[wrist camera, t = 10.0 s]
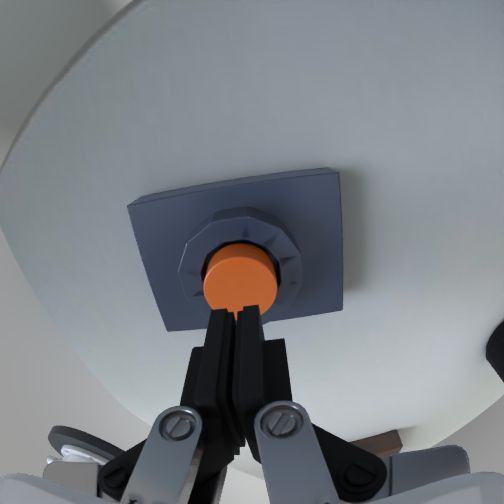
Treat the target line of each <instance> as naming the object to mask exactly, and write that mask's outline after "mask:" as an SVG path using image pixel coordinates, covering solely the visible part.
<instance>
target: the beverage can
mask: <svg viewBox="0 0 504 504" xmlns="http://www.w3.org/2000/svg"><path fill="white" fill-rule="evenodd" d="M486 359H487V360H488V362H489V363H490V364H491V366H492V367H493V368H494V370H495V371H496V372H497V374H498V375H499V377H500V378H501V379H502V381H503V382H504V322H502V323H501V324H500V325H499V326H498V327H497V329H496V330H495V331H494V332H493V334H492V335H491V337H490V339H489V341H488V343H487V346H486Z"/></svg>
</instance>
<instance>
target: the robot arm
mask: <svg viewBox="0 0 504 504" xmlns="http://www.w3.org/2000/svg"><path fill="white" fill-rule="evenodd" d="M245 438H246V440H247V442H248V445H249V448H250V450H251V453H252V455H253V458H254V459H255V460H256V461H257V462H259V463H260V464H262V468H263V473H264V477H265V482H266V487H267V491H268V496H269V499H270V504H504V475H503V474H500V473H496V472H476V473H470V465H469V458H468V455H467V453H466V451H465V450H464V449H463V448H462V447H460V446H457V445H447V446H442V447H436V448H431V449H425V450H418V451H411V452H403V453H394V454H391V456H385V457H377V456H376V455H374V454H372V453H370V452H368V451H365V450H363V449H361V448H359V447H357V446H355V445H353V444H351V443H349V442H347V441H345V440H343V439H341V438H339V437H337V436H335V435H333V434H331V433H329V432H327V431H325V430H324V429H322V428H320V427H318V426H316V425H314V424H313V423H311V421H310V418H309V415H308V413H307V412H306V410H305V408H303V407H302V406H301V405H300V404H298V403H295V402H293V401H292V393H291V385H290V377H289V370H288V362H287V354H286V347H285V340H284V338H283V339H275V340H267V341H265V339H264V333H263V327H262V321H261V315H260V309H259V305H250V306H243V311H238V312H237V324H236V320H235V315H234V312H228V309H227V308H224V309H214V310H211V313H210V318H209V323H208V328H207V333H206V338H205V343H204V346H202V347H194V348H193V349H192V353H191V357H190V361H189V365H188V370H187V374H186V379H185V383H184V388H183V392H182V397H181V401H180V406H175V407H171V408H168V409H166V410H165V411H163V412H162V413H161V414H160V415H158V417H157V419H156V420H155V422H154V424H153V426H152V429H151V431H150V433H149V436H148V438H147V439H145V440H144V441H142V442H141V443H139V444H137V445H136V446H134V447H132V448H131V449H129V450H127V451H126V452H124V453H122V454H121V455H119V456H117V457H115V458H114V459H112V460H108V459H106V458H104V457H102V456H100V455H98V454H96V453H94V452H91V451H89V450H86V449H83V448H81V447H77V446H74V445H63V446H62V449H61V453H62V455H63V456H64V457H63V459H58V458H55V457H53V456H48V457H47V462H48V465H47V466H46V467H45V469H44V472H43V478H40V477H37V476H33V475H28V474H20V473H18V474H7V475H3V476H0V504H219V501H220V497H221V493H222V489H223V485H224V481H225V477H226V473H227V465H228V464H229V463H230V462H232V461H233V460H234V455H240V447H245Z"/></svg>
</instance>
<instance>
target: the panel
mask: <svg viewBox="0 0 504 504" xmlns="http://www.w3.org/2000/svg"><path fill="white" fill-rule="evenodd" d="M349 443H351V444H353V445H355V446H357V447H359V448H361V449H363V450H365V451H368V452H370V453H372V454H374V455H376V456H377V457H385V456H391V454H394V453H399V452H400V450H401V448H402V446H403V445H402V442H401V440H400V437H399V434H398V432H397V430H393V431H390V432H387V433H384V434H380V435H377V436H373V437H369V438H366V439H362V440H358V441H354V442H349Z"/></svg>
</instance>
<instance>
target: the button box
mask: <svg viewBox="0 0 504 504" xmlns="http://www.w3.org/2000/svg"><path fill="white" fill-rule="evenodd" d="M127 208H128V212H129V216H130V220H131V224H132V227H133V231H134V234H135V238H136V241H137V245H138V248H139V251H140V255H141V258H142V261H143V264H144V267H145V271H146V274H147V277H148V280H149V283H150V286H151V289H152V291H153V294H154V297H155V300H156V303H157V306H158V308H159V311H160V314H161V316H162V319H163V322H164V324H165V327H166V330H167V331H168V332H169V331H183V330H196V329H207V328H208V323H209V318H210V313H211V310H213V309H212V308H211V306H210V305H209V304H208V302H207V300H206V298H205V295H204V291H203V285H204V279H205V276H206V272H207V269H208V265H209V263H210V260H211V259H212V257H213V256H214V255H215V253H217V252H218V251H219V250H220V249H222V248H224V247H226V246H228V245H232V244H238V243H243V244H250V245H253V246H256V247H258V248H260V249H261V250H263V251H264V252H265V253H266V254H267V255H268V256H269V257H270V259H271V260H272V262H273V265H274V269H275V274H276V280H277V288H278V290H277V296H276V299H275V301H274V303H273V304H272V306H271V307H270V308H269V309H268V310H267V311H266V312H265V313H263V314H262V315H261V321H262V324H266V323H267V322H270V321H277V320H285V319H292V318H298V317H305V316H311V315H317V314H324V313H329V312H335V311H341V310H342V309H343V238H342V213H341V196H340V181H339V173H338V172H336V171H334V170H332V169H330V168H318V169H308V170H299V171H290V172H282V173H274V174H267V175H260V176H253V177H246V178H239V179H233V180H227V181H220V182H215V183H209V184H203V185H198V186H192V187H187V188H182V189H177V190H171V191H167V192H162V193H157V194H152V195H148V196H143V197H140V198H138V199H137V200H135V201H134V202H132V203H131V204H129V205H128V206H127ZM236 324H237V320H236Z"/></svg>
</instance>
